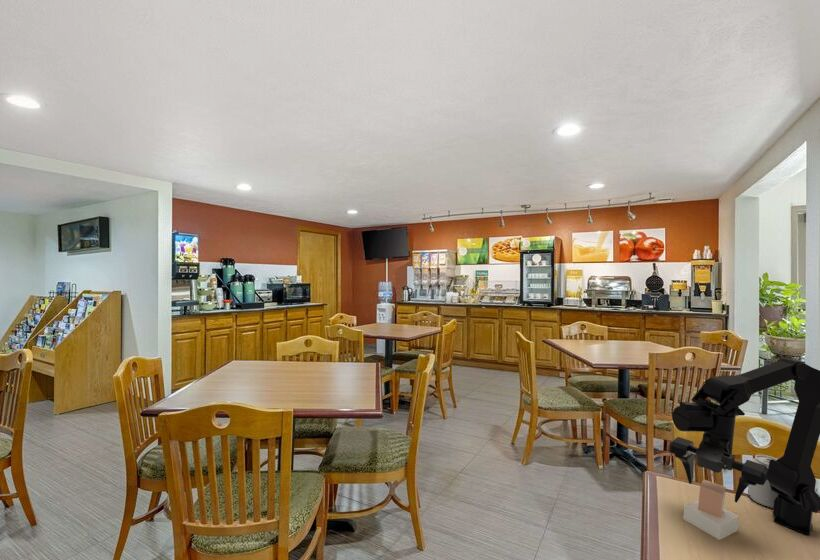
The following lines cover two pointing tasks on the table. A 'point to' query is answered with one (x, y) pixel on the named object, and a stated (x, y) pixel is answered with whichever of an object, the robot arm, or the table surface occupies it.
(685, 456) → the robot arm
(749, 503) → the table surface
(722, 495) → the block
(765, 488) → the can
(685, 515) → the white rectangular box
